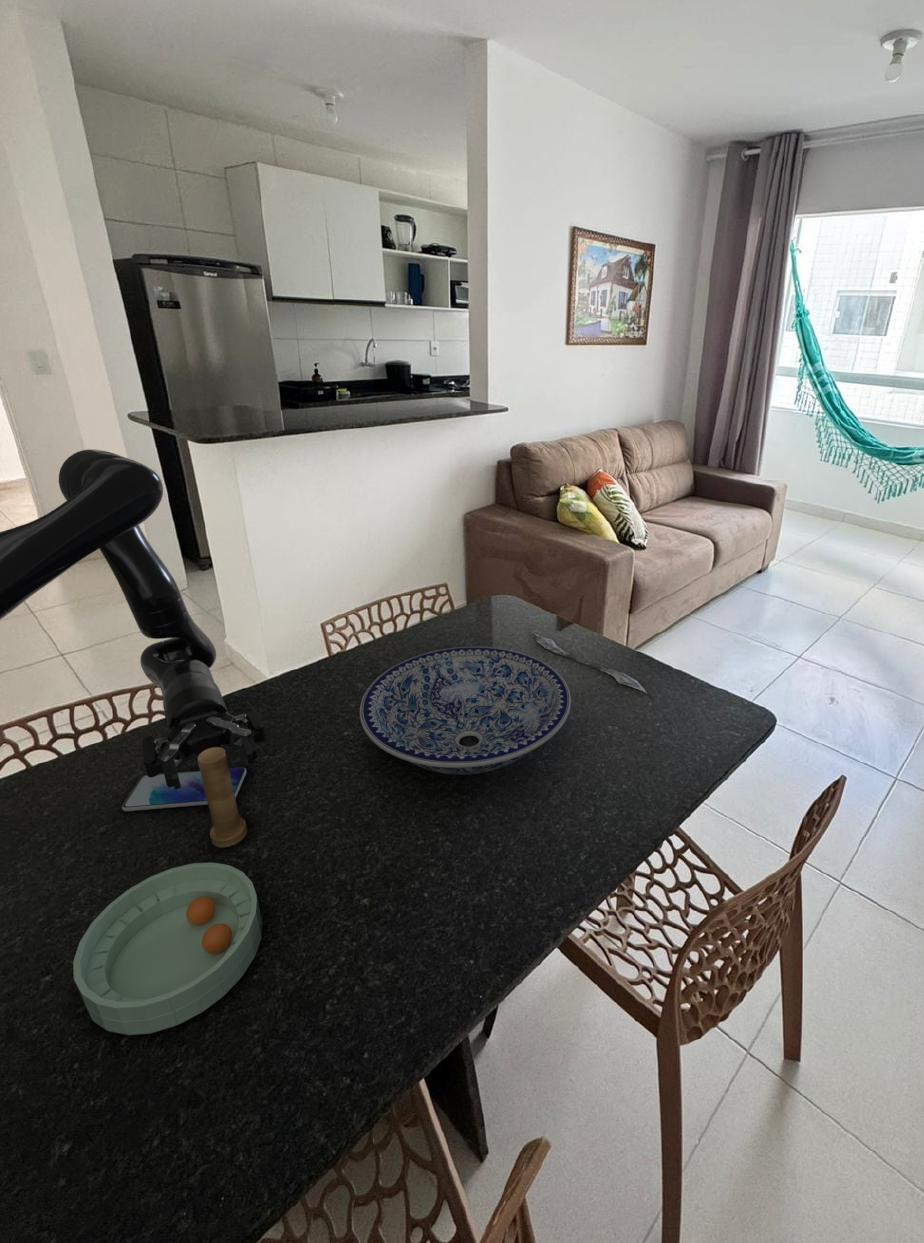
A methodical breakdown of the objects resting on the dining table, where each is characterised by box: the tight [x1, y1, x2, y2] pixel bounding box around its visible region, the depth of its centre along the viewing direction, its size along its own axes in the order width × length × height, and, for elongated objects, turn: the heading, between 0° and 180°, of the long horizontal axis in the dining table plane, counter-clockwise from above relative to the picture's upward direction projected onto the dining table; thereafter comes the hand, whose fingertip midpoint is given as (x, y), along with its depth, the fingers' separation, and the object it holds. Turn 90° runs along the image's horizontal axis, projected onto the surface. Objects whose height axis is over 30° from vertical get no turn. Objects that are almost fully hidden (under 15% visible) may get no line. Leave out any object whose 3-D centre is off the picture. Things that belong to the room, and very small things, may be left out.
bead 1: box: [186, 896, 216, 925], centre depth 74 cm, size 3×3×3 cm
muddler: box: [197, 747, 248, 848], centre depth 84 cm, size 4×4×14 cm
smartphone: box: [121, 767, 247, 812], centre depth 94 cm, size 7×1×15 cm
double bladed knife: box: [533, 632, 647, 694], centre depth 133 cm, size 32×1×5 cm
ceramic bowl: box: [359, 646, 572, 776], centre depth 106 cm, size 34×34×10 cm
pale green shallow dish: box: [72, 862, 263, 1036], centre depth 70 cm, size 17×17×5 cm
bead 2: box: [202, 923, 232, 954], centre depth 71 cm, size 3×3×3 cm
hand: (215, 770), depth 81 cm, fingers open, 8 cm apart
